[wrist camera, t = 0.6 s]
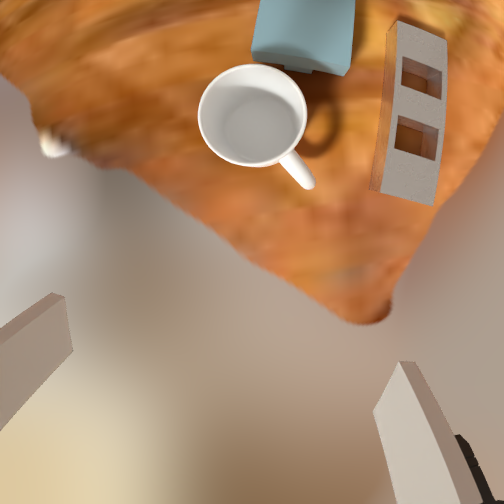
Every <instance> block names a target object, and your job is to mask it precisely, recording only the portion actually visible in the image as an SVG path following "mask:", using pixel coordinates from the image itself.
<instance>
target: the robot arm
mask: <svg viewBox="0 0 504 504" xmlns="http://www.w3.org/2000/svg"><path fill="white" fill-rule="evenodd" d="M72 352H73V348H72V343H71V337H70V331H69V324H68V319H67V311H66V303H65V297H64V296H61V295H57V294H55V293H50V294H49V295H47V296H46V297H44V298H43V299H41V300H40V301H38V302H37V303H35V304H34V305H32V306H31V307H30V308H28V309H27V310H25V311H24V312H22V313H21V314H19V315H18V316H17V317H15V318H14V319H12V320H11V321H10V322H9V323H7V324H6V325H4V326H3V327H2V328H0V431H1V430H2V429H3V427H4V426H5V425H6V424H7V423H8V422H9V420H10V419H11V418H12V417H13V416H14V415H15V414H16V412H17V411H18V410H19V409H20V408H21V407H22V406H23V404H24V403H25V402H26V401H27V400H28V399H29V398H30V397H31V396H32V394H34V392H35V391H36V390H37V389H38V388H39V387H40V386H41V385H42V384H43V383H44V382H45V380H46V379H47V378H48V377H49V376H50V375H51V374H52V373H53V372H54V371H55V370H56V369H57V368H58V367H59V365H61V364H62V362H64V361H65V359H66V358H67V357H68V356H69V355H70V354H71V353H72ZM373 414H374V418H375V421H376V424H377V428H378V431H379V435H380V439H381V442H382V446H383V449H384V453H385V457H386V461H387V465H388V469H389V472H390V477H391V481H392V484H393V489H394V493H395V497H396V502H397V504H504V501H501V500H497V501H495V499H494V497H493V496H492V493H491V491H490V488H489V486H488V484H487V481H486V479H485V477H484V475H483V472H482V470H481V468H480V466H478V461H477V459H476V458H474V453H473V451H472V449H471V447H470V445H469V443H468V442H467V441H466V440H465V439H464V438H463V437H462V436H461V435H460V434H459V435H454V434H453V432H452V430H451V428H450V426H449V424H448V422H447V420H446V418H445V416H444V414H443V412H442V410H441V408H440V406H439V405H438V402H437V401H436V399H435V397H434V395H433V393H432V391H431V390H430V388H429V386H428V384H427V382H426V380H425V379H424V377H423V375H422V373H421V371H420V370H419V368H418V366H417V365H416V363H415V362H404V361H399V362H398V364H397V366H396V368H395V370H394V372H393V374H392V377H391V378H390V380H389V382H388V384H387V386H386V388H385V390H384V392H383V394H382V396H381V398H380V400H379V402H378V403H377V405H376V407H375V409H374V411H373Z"/></svg>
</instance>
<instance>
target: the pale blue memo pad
mask: <svg viewBox="0 0 504 504" xmlns="http://www.w3.org/2000/svg"><path fill="white" fill-rule="evenodd" d="M354 15H355V0H261V1H260V6H259V10H258V15H257V20H256V26H255V31H254V36H253V41H252V46H251V53H252V57H253V61H258V62H267V63H274V64H282V65H284V70H291V71H297V72H303V73H308V74H312V71H313V70H317V71H322V72H326V73H331V74H336V75H340V76H344V75H345V74H346V72H347V71H348V69H349V68H350V62H351V52H352V41H353V29H354Z"/></svg>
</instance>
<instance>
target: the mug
mask: <svg viewBox="0 0 504 504" xmlns="http://www.w3.org/2000/svg"><path fill="white" fill-rule="evenodd" d="M306 122H307V106H306V102H305V98H304V96H303V94H302V92H301V90H300V88H299V87H298V85H297V84H296V83H295V82H294V81H293V80H292V79H291V78H290V77H289V76H288V75H286V74H285V73H284V72H282V71H280V70H278V69H276V68H273V67H271V66H267V65H262V64H245V65H240V66H236V67H233V68H231V69H228V70H227V71H225V72H223V73H221V74H220V75H219V76H217V77H216V78H215V79H214V80H213V81H212V82H211V83H210V84H209V85H208V87H207V88H206V90H205V91H204V93H203V96H202V98H201V101H200V104H199V109H198V123H199V128H200V131H201V134H202V136H203V138H204V140H205V142H206V143H207V145H208V146H209V147H210V148H211V149H212V150H213V151H214V152H215V153H216V154H217V155H218V156H220V157H221V158H223V159H225V160H227V161H229V162H231V163H234V164H238V165H243V166H251V167H266V166H270V165H273V164H276V163H278V162H279V163H280V164H281V165H282V166H283V167H284V168H285V169H286V170H287V171H288V172H289V173H290V174H291V176H292V177H293V178H294V179H295V180H296V181H297V182H298V183H299V184H300V185H301V186H302V187H303V188H304V189H307V190H310V189H312V188H314V186H315V184H316V180H315V177H314V176H313V174H312V172H311V171H310V169H309V168H308V167H307V165H306V164H305V163H304V161H303V160H302V159H301V157H300V156H299V155H298V154H297V152H296V151H295V150H294V148H295V146H296V145H297V144H298V142H299V141H300V139H301V137H302V135H303V133H304V130H305V127H306Z"/></svg>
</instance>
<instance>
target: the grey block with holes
mask: <svg viewBox="0 0 504 504" xmlns="http://www.w3.org/2000/svg"><path fill="white" fill-rule="evenodd" d="M402 71H405V72H408V73H411V74H413V75H416V76H419V77H421V78H424V79H426V80H427V93H426V94H424V93H422V92H419V91H416V90H414V89H411V88H408V87H405V86H402V85H401V76H402ZM446 102H447V40H445V39H442V38H440V37H438V36H436V35H433V34H431V33H429V32H426V31H424V30H422V29H419V28H417V27H414V26H412V25H409V24H406V23H404V22H401V21H398V20H397V21H396V22H395V24H394V25H393V26H392V27H391V28H390V30H389V31H388V32H387V33H386V54H385V70H384V82H383V93H382V103H381V112H380V120H379V128H378V135H377V142H376V149H375V156H374V162H373V168H372V174H371V179H370V185H369V190H373V191H376V192H380V193H384V194H388V195H392V196H396V197H400V198H404V199H408V200H411V201H415V202H419V203H422V204H426V205H429V206H433V203H434V198H435V192H436V187H437V181H438V175H439V169H440V162H441V155H442V147H443V138H444V129H445V117H446ZM397 124H400V125H403V126H406V127H409V128H412V129H415V130H418V131H421V132H423V137H422V145H421V153H420V156H417V155H414V154H411V153H408V152H404V151H401V150H398V149H394V144H395V137H396V129H397Z"/></svg>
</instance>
